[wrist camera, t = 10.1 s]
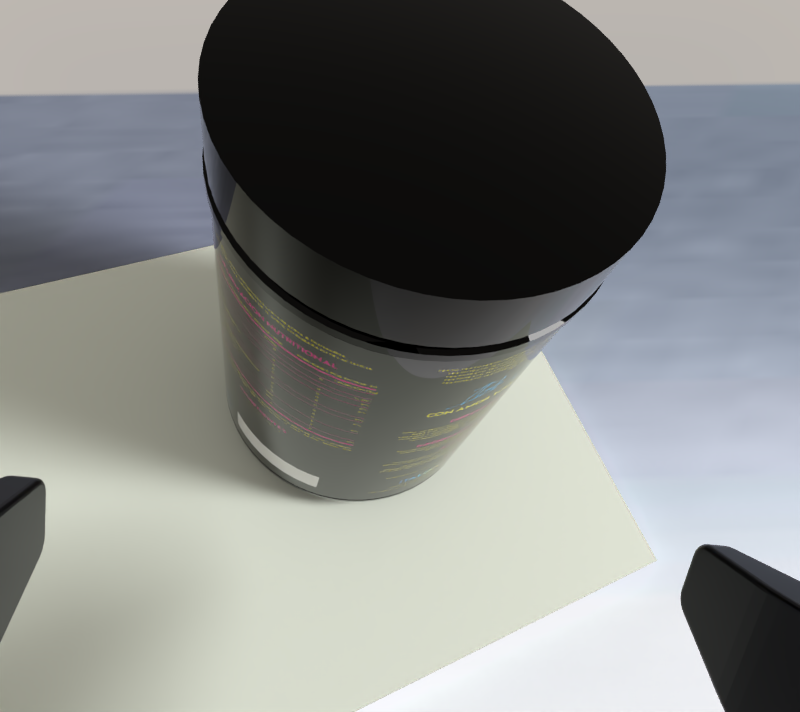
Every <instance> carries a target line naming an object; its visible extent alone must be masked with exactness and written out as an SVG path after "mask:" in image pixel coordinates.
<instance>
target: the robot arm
mask: <svg viewBox="0 0 800 712" xmlns="http://www.w3.org/2000/svg"><path fill="white" fill-rule="evenodd" d="M45 513H46V488H45V484H44V482H43V481H42V480H41V479H38V478H33V477H23V476H13V475H12V476H5V477H2V478H0V642H1V640H2V638H3V636H4V634H5V632H6V629H7V627H8V625H9V623H10V621H11V619H12V616H13V614H14V612H15V610H16V608H17V606H18V603H19V601H20V599H21V597H22V595H23V593H24V590H25V588H26V586H27V584H28V582H29V579H30V577H31V575H32V573H33V571H34V569H35V566H36V564H37V562H38V560H39V558H40V555H41V553H42V549H43V545H44V540H45ZM681 606H682V610H683V612H684V615H685V617H686V620H687V622H688V625H689V627H690V630H691V632H692V634H693V637H694V639H695V642H696V644H697V647H698V649H699V651H700V654H701V656H702V659H703V661H704V664H705V666H706V668H707V671H708V673H709V676H710V678H711V681H712V683H713V685H714V688H715V690H716V693H717V695H718V697H719V699H720V702H721V704H722V706H723V708H724V710H725V712H800V581H798V580H796V579H794V578H792V577H790V576H788V575H786V574H784V573H782V572H780V571H778V570H776V569H774V568H772V567H770V566H768V565H766V564H764V563H762V562H760V561H758V560H756V559H754V558H752V557H750V556H747V555H745V554H743V553H741V552H739V551H737V550H735V549H733V548H731V547H728V546H720V545H710V544H704V545H702V546H700V547H698V549H697V550H696V551H695V553H694V556H693V559H692V562H691V565H690V568H689V571H688V573H687V576H686V579H685V582H684V585H683V588H682V591H681Z"/></svg>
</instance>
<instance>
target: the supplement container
mask: <svg viewBox="0 0 800 712" xmlns="http://www.w3.org/2000/svg"><path fill="white" fill-rule="evenodd" d="M198 88H199V102H200V114H201V125H202V137H203V155H202V157H203V174H204V184H205V189H206V194H207V199H208V203H209V206H210V209H211V217H212V229H213V241H214V253H215V265H216V277H217V289H218V301H219V313H220V325H221V337H222V349H223V361H224V374H225V386H226V396H227V402H228V407H229V411H230V414H231V417H232V420H233V423H234V425H235V427H236V429H237V432H238V433H239V435H240V437H241V439H242V440H243V442H244V444H245V445H246V446H247V448H248V449H249V450H250V452H251V453H252V454H253V455H254V457H255V458H256V459H257V460H258V461H259V462H260V463H261V464H262V465H263V466H264V467H265V468H266V469H268V470H269V471H270V472H271V473H272V474H274V475H275V476H277V477H278V478H279V479H281V480H282V481H284V482H286V483H287V484H289V485H291V486H293V487H294V488H297V489H299V490H301V491H304V492H306V493H308V494H312V495H315V496H318V497H321V498H326V499H330V500H336V501H345V502H365V501H375V500H380V499H385V498H389V497H392V496H396V495H399V494H402V493H404V492H406V491H408V490H411V489H413V488H415V487H416V486H418V485H420V484H422V483H423V482H425V481H426V480H427V479H429V478H430V477H431V476H433V475H434V474H435V473H436V472H437V471H438V470H440V469H441V468H442V467H443V466H444V465H445V463H446V462H447V461H448V460H449V459H450V458H451V456H452V455H453V454H454V453H455V452H456V450H457V449H458V448H459V447H460V446H461V445H462V443H463V442H464V441H465V440H466V439H467V438H468V436H469V435H470V434H471V433H472V432H473V431H474V429H475V428H476V427H477V426H478V425H479V423H480V422H481V421H482V420H483V419H484V418H485V416H486V415H487V414H488V413H489V412H490V411H491V409H492V408H493V407H494V406H495V405H496V403H497V402H498V401H499V400H500V399H501V398H502V396H503V395H504V394H505V393H506V392H507V391H508V389H509V388H510V387H511V386H512V385H513V383H514V382H515V381H516V380H517V379H518V378H519V376H520V375H521V374H522V373H523V372H524V371H525V369H526V368H527V367H528V366H529V365H530V364H531V362H532V361H533V360H534V359H535V358H536V356H537V355H538V354H539V353H540V352H541V351H542V349H543V348H544V347H545V346H546V345H547V344H548V342H549V341H550V340H551V339H552V338H553V336H554V335H555V334H556V333H557V332H558V331H559V329H560V328H561V327H563V326H564V325H566V324H567V323H568V322H569V321H570V320H571V319H572V318H574V317H575V316H576V315H577V314H578V313H579V312H580V311H581V310H582V309H583V308H584V306H585V305H586V304H587V303H588V302H589V301H590V299H591V298H592V297H593V296H594V295H595V294H596V292H597V291H598V289H599V288H600V286H601V284H602V283H603V281H604V280H605V279H606V278H607V276H608V275H609V274H610V273H611V272H612V271H613V269H614V268H615V267H616V266H617V265H618V264H619V262H620V261H621V260H622V259H623V258H624V257H625V255H626V254H627V253H628V252H629V251H630V250H631V248H632V247H633V246H634V245H635V244H636V243H637V241H638V240H639V239H640V238H641V237H642V236H643V234H644V232H645V231H646V229H647V228H648V226H649V225H650V223H651V221H652V220H653V217H654V215H655V213H656V211H657V208H658V206H659V203H660V200H661V196H662V192H663V189H664V182H665V174H666V151H665V144H664V137H663V133H662V129H661V125H660V121H659V118H658V116H657V113H656V110H655V108H654V105H653V102H652V100H651V98H650V97H649V95H648V93H647V91H646V89H645V87H644V85H643V83H642V82H641V80H640V78H639V77H638V75H637V74H636V72H635V71H634V69H633V68H632V66H631V65H630V64H629V62H628V61H627V60H626V59H625V57H624V56H623V55H622V53H621V52H620V51H619V50H618V49H617V48H616V47H615V46H614V44H613V43H612V42H611V41H610V40H609V39H608V38H607V37H606V36H605V35H604V34H603V33H602V32H601V31H600V30H599V29H598V28H597V27H595V26H594V25H593V24H592V23H591V22H590V21H589V20H587V19H586V18H585V17H584V16H583V15H581V14H580V13H579V12H577V11H576V10H575V9H573V8H572V7H570V6H569V5H568V4H567V3H565V2H564V1H562V0H228V1H227V2H226V4H225V5H224V6H223V7H222V9H221V10H220V11H219V13H218V15H217V16H216V18H215V20H214V21H213V23H212V24H211V26H210V29H209V31H208V34H207V36H206V38H205V41H204V44H203V48H202V52H201V56H200V61H199V73H198Z"/></svg>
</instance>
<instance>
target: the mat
mask: <svg viewBox="0 0 800 712" xmlns="http://www.w3.org/2000/svg"><path fill="white" fill-rule="evenodd" d="M12 475H13V476H23V477H33V478H38V479H41V480H42V481H43V482H44V484H45V488H46V513H45V540H44V545H43V549H42V553H41V555H40V558H39V560H38V562H37V564H36V566H35V569H34V571H33V573H32V575H31V577H30V579H29V582H28V584H27V586H26V588H25V590H24V593H23V595H22V597H21V599H20V601H19V603H18V606H17V608H16V610H15V612H14V614H13V616H12V619H11V621H10V623H9V625H8V627H7V629H6V632H5V634H4V636H3V638H2V640H1V642H0V712H355V711H357V710H359V709H361V708H363V707H365V706H367V705H369V704H371V703H373V702H375V701H377V700H379V699H381V698H383V697H385V696H387V695H389V694H391V693H393V692H395V691H397V690H399V689H401V688H403V687H405V686H407V685H409V684H411V683H413V682H415V681H417V680H419V679H421V678H423V677H425V676H427V675H429V674H431V673H433V672H435V671H437V670H439V669H441V668H443V667H445V666H447V665H449V664H451V663H453V662H455V661H457V660H459V659H461V658H463V657H465V656H467V655H469V654H471V653H473V652H475V651H477V650H479V649H481V648H483V647H485V646H487V645H489V644H491V643H493V642H495V641H497V640H499V639H501V638H503V637H505V636H507V635H509V634H511V633H513V632H515V631H517V630H519V629H521V628H523V627H525V626H527V625H529V624H531V623H533V622H535V621H537V620H539V619H541V618H543V617H545V616H547V615H549V614H551V613H553V612H555V611H557V610H559V609H561V608H563V607H565V606H567V605H569V604H571V603H573V602H575V601H577V600H579V599H581V598H583V597H585V596H587V595H589V594H591V593H593V592H595V591H597V590H599V589H601V588H603V587H605V586H607V585H609V584H611V583H613V582H615V581H617V580H619V579H621V578H623V577H625V576H627V575H629V574H631V573H633V572H635V571H637V570H639V569H641V568H643V567H645V566H647V565H649V564H651V563H653V562H655V561H657V560H656V558H655V556H654V554H653V552H652V551H651V549H650V547H649V545H648V543H647V542H646V540H645V538H644V536H643V534H642V533H641V531H640V529H639V527H638V525H637V523H636V522H635V520H634V518H633V516H632V514H631V513H630V511H629V509H628V507H627V505H626V503H625V502H624V500H623V498H622V496H621V494H620V493H619V491H618V489H617V487H616V485H615V483H614V482H613V480H612V478H611V476H610V474H609V473H608V471H607V469H606V467H605V465H604V463H603V462H602V460H601V458H600V456H599V454H598V453H597V451H596V449H595V447H594V445H593V443H592V442H591V440H590V438H589V436H588V434H587V433H586V431H585V429H584V427H583V425H582V423H581V422H580V420H579V418H578V416H577V414H576V413H575V411H574V409H573V407H572V405H571V403H570V402H569V400H568V398H567V396H566V394H565V393H564V391H563V389H562V387H561V385H560V383H559V382H558V380H557V378H556V376H555V374H554V373H553V371H552V369H551V367H550V365H549V363H548V362H547V360H546V358H545V356H544V354H543V353H542V351H541V352H540V353H539V354H538V355H537V356H536V358H535V359H534V360H533V361H532V362H531V364H530V365H529V366H528V367H527V368H526V369H525V371H524V372H523V373H522V374H521V375H520V376H519V378H518V379H517V380H516V381H515V382H514V383H513V385H512V386H511V387H510V388H509V389H508V391H507V392H506V393H505V394H504V395H503V396H502V398H501V399H500V400H499V401H498V402H497V403H496V405H495V406H494V407H493V408H492V409H491V411H490V412H489V413H488V414H487V415H486V416H485V418H484V419H483V420H482V421H481V422H480V423H479V425H478V426H477V427H476V428H475V429H474V431H473V432H472V433H471V434H470V435H469V436H468V438H467V439H466V440H465V441H464V442H463V443H462V445H461V446H460V447H459V448H458V449H457V450H456V452H455V453H454V454H453V455H452V456H451V458H450V459H449V460H448V461H447V462H446V463H445V465H444V466H443V467H442V468H441V469H440V470H438V471H437V472H436V473H435V474H434V475H433V476H431V477H430V478H429V479H427V480H426V481H425V482H423V483H422V484H420V485H418V486H416V487H415V488H413V489H411V490H408V491H406V492H404V493H402V494H399V495H396V496H392V497H389V498H385V499H380V500H375V501H365V502H345V501H336V500H330V499H326V498H321V497H318V496H315V495H312V494H308V493H306V492H304V491H301V490H299V489H297V488H294V487H293V486H291V485H289V484H287V483H286V482H284V481H282V480H281V479H279V478H278V477H277V476H275V475H274V474H272V473H271V472H270V471H269V470H268V469H266V468H265V467H264V466H263V465H262V464H261V463H260V462H259V461H258V460H257V459H256V458H255V457H254V455H253V454H252V453H251V452H250V450H249V449H248V448H247V446H246V445H245V444H244V442H243V440H242V439H241V437H240V435H239V433H238V432H237V429H236V427H235V425H234V423H233V420H232V417H231V414H230V411H229V407H228V402H227V396H226V386H225V374H224V361H223V349H222V337H221V325H220V313H219V301H218V289H217V277H216V265H215V253H214V245H213V246H208V247H204V248H199V249H195V250H190V251H186V252H181V253H177V254H173V255H168V256H164V257H159V258H155V259H150V260H146V261H141V262H137V263H133V264H128V265H124V266H119V267H115V268H110V269H106V270H102V271H97V272H93V273H88V274H84V275H79V276H75V277H70V278H66V279H62V280H57V281H53V282H48V283H44V284H39V285H35V286H30V287H26V288H22V289H17V290H13V291H8V292H4V293H0V478H2V477H5V476H12Z"/></svg>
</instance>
